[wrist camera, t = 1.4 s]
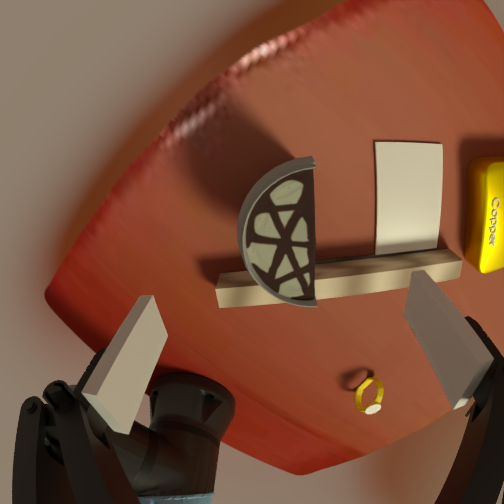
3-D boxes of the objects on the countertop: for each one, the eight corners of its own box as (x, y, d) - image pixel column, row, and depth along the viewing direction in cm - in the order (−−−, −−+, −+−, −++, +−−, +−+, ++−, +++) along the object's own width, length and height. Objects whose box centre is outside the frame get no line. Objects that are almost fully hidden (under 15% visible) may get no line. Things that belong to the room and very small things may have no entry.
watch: (369, 370, 40) (379, 395, 34) (380, 373, 40) (391, 397, 35) (348, 393, 42) (356, 418, 36) (360, 395, 42) (368, 420, 37)
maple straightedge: (223, 291, 34) (219, 307, 31) (219, 269, 33) (214, 285, 30) (446, 265, 31) (459, 277, 28) (449, 245, 30) (463, 256, 27)
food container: (238, 153, 27) (224, 165, 18) (299, 149, 27) (316, 158, 18) (250, 262, 32) (243, 316, 23) (304, 259, 32) (317, 312, 23)
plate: (374, 253, 31) (375, 255, 31) (374, 141, 26) (375, 142, 25) (435, 246, 30) (436, 247, 30) (440, 144, 25) (442, 144, 25)
